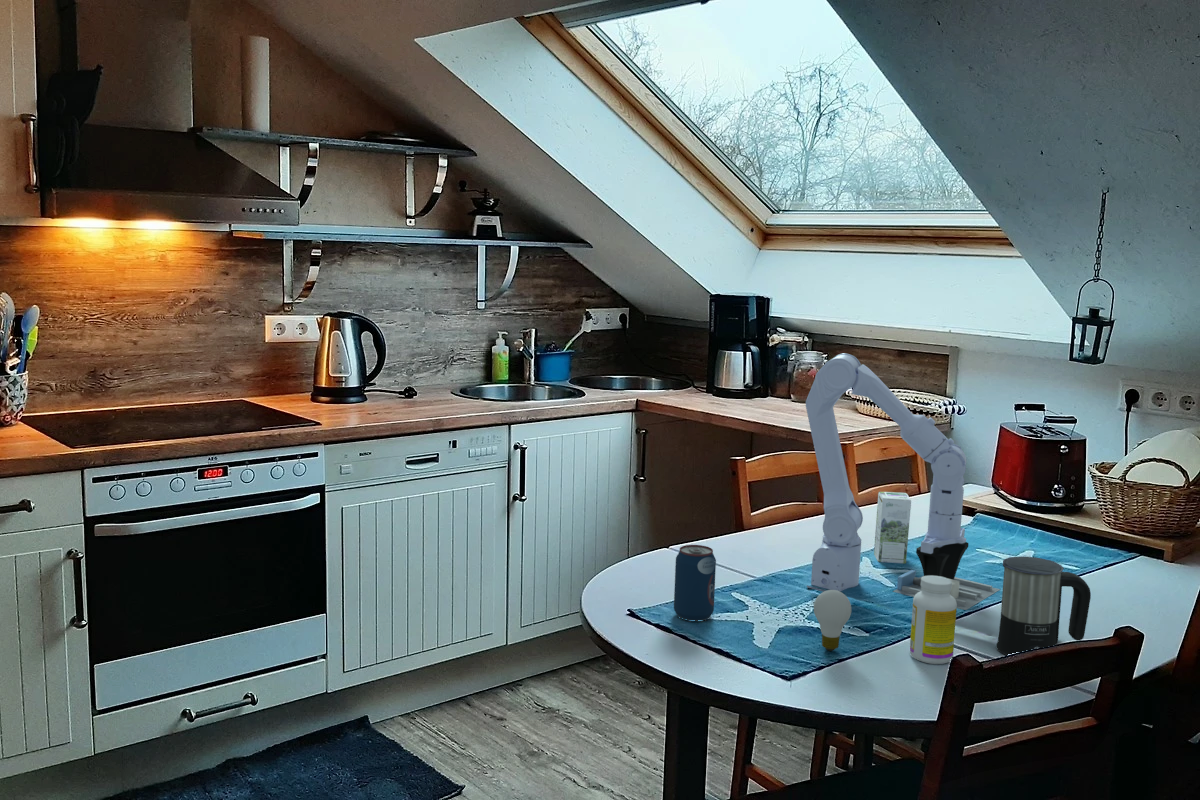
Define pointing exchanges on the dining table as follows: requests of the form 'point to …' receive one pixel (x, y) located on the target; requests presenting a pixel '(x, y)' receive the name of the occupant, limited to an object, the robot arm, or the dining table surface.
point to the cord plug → (954, 590)
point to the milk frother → (1038, 604)
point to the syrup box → (892, 527)
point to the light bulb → (832, 616)
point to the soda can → (694, 582)
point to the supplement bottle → (933, 621)
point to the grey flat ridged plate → (967, 590)
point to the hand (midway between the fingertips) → (939, 583)
